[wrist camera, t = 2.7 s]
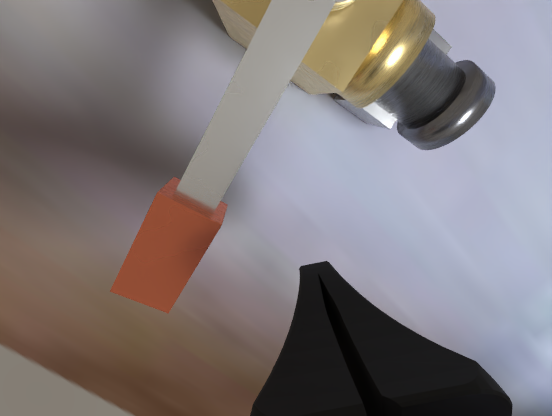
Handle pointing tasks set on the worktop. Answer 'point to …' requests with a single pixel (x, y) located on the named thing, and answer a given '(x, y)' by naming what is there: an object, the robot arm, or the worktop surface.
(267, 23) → the valve lever
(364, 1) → the pipe valve
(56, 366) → the worktop surface
